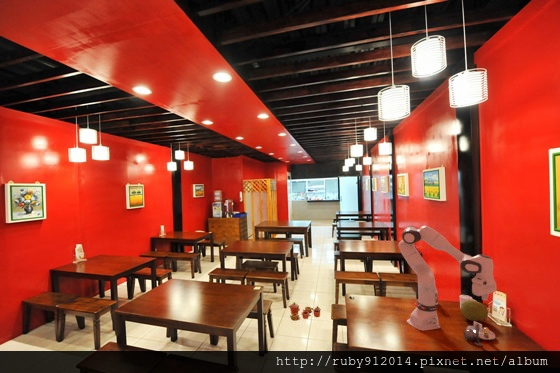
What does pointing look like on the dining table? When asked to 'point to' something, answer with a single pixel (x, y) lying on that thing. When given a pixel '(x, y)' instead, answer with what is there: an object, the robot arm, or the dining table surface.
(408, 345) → the dining table surface
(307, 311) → the toy tea set
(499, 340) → the dining table surface
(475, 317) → the fruit
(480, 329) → the dial stand
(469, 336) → the grey rounded lump
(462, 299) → the mug
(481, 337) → the turntable
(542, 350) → the dining table surface
